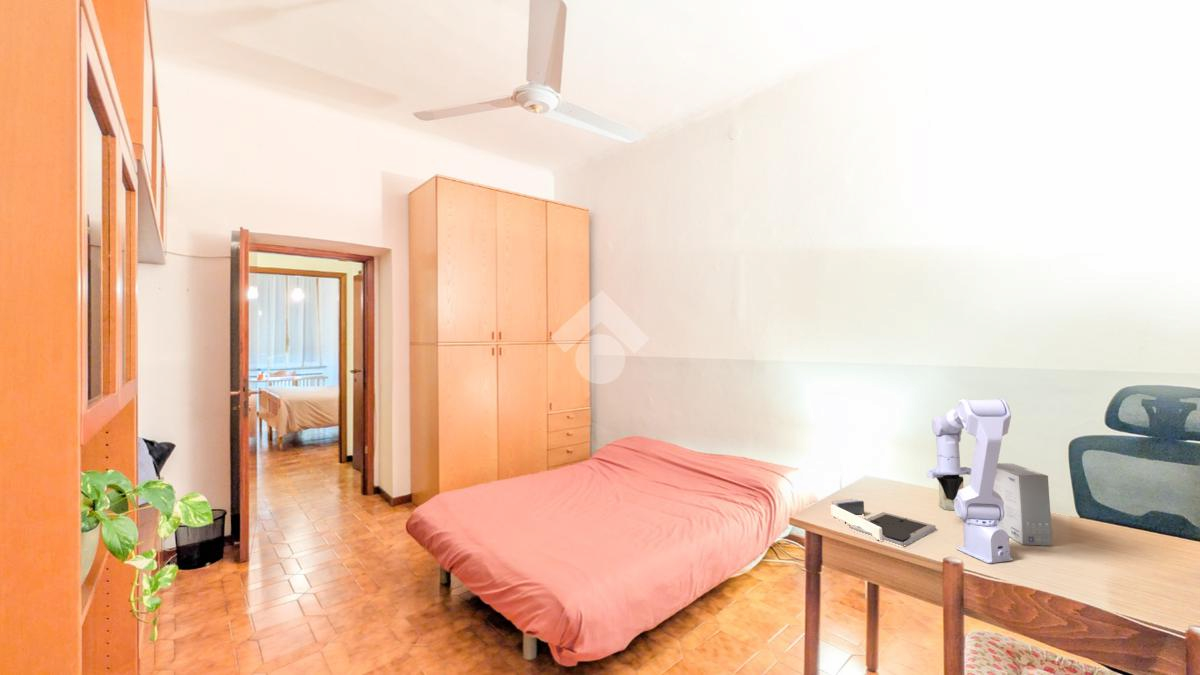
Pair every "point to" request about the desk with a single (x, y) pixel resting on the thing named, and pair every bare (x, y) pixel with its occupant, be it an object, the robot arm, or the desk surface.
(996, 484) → the hard drive box
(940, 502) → the skincare box
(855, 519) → the shelf wall
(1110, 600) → the desk surface
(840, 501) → the orange and blue block
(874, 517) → the picture frame
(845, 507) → the bookend
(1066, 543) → the desk surface
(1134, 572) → the desk surface
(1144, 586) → the desk surface
